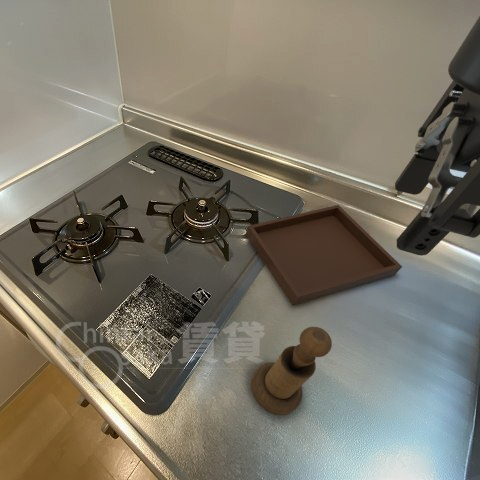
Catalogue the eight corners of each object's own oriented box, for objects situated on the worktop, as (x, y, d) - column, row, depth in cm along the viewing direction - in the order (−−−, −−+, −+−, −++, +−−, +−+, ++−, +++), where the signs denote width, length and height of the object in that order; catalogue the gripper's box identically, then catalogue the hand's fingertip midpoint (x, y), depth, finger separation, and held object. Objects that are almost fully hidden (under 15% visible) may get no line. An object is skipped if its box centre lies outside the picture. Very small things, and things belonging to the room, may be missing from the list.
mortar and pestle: (245, 401, 44) (280, 350, 31) (256, 360, 48) (292, 298, 34) (293, 424, 42) (354, 380, 29) (301, 379, 46) (357, 321, 33)
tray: (332, 214, 69) (338, 204, 67) (393, 276, 58) (402, 266, 56) (245, 235, 65) (247, 225, 63) (292, 306, 54) (297, 297, 52)
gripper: (809, 40, 11) (468, 293, 23) (623, -25, 19) (446, 184, 31) (537, 17, 13) (357, 258, 25) (478, -32, 22) (365, 165, 34)
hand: (407, 217), depth 28 cm, fingers open, 8 cm apart
